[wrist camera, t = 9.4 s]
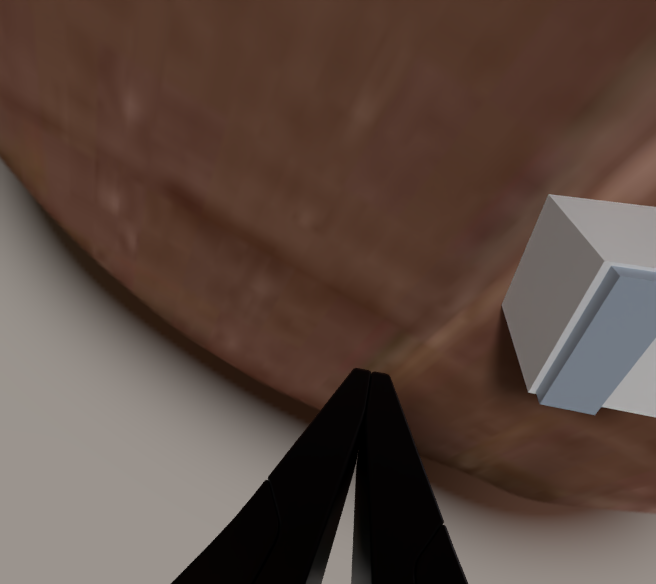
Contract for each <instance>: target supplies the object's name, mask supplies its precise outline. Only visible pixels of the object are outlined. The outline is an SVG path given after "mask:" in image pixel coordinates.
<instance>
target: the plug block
mask: <svg viewBox="0 0 656 584" xmlns="http://www.w3.org/2000/svg"><path fill="white" fill-rule="evenodd" d="M502 308H503V311H504V314H505V318H506V321H507V324H508V328H509V331H510V334H511V338H512V341H513V344H514V347H515V351H516V354H517V357H518V361H519V364H520V367H521V370H522V374H523V377H524V380H525V384H526V387H527V390H528V392H529V393H534V394H537V397H538V400H539V403H540V404H542V405H547V406H552V407H557V408H562V409H567V410H572V411H577V412H582V413H587V414H592V415H595V414H596V413H597V412H598V410H599V409H600V408H601V407H605V408H610V409H615V410H620V411H626V412H631V413H636V414H641V415H646V416H651V417H656V207H651V206H642V205H634V204H626V203H617V202H609V201H600V200H592V199H584V198H575V197H567V196H559V195H550V194H548V197H547V199H546V201H545V204H544V206H543V209H542V211H541V213H540V216H539V218H538V220H537V223H536V225H535V227H534V230H533V232H532V235H531V237H530V239H529V242H528V244H527V246H526V249H525V251H524V253H523V256H522V258H521V260H520V263H519V265H518V268H517V270H516V272H515V275H514V277H513V279H512V282H511V284H510V286H509V289H508V291H507V294H506V296H505V298H504V301H503V303H502Z"/></svg>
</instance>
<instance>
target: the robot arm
mask: <svg viewBox="0 0 656 584" xmlns="http://www.w3.org/2000/svg"><path fill="white" fill-rule="evenodd" d="M358 450H359V451H358ZM357 455H358V458H357ZM356 460H357V466H356V485H355V508H354V509H355V510H354V532H353V555H352V580H351V581H352V582H351V584H468V582H467V580H466V577H465V574H464V572H463V569H462V567H461V565H460V562H459V560H458V557H457V555H456V552H455V550H454V547H453V544H452V541H451V539H450V536H449V533H448V531H447V528H446V526H445V525H443V523H444V520H443V518H442V515H441V513H440V510H439V507H438V504H437V501H436V499H435V496H434V494H433V491H432V488H431V485H430V483H429V480H428V477H427V475H426V472H425V469H424V466H423V464H422V461H421V458H420V456H419V453H418V450H417V447H416V445H415V442H414V439H413V437H412V434H411V431H410V429H409V426H408V423H407V420H406V418H405V415H404V412H403V410H402V407H401V404H400V401H399V399H398V396H397V393H396V391H395V388H394V385H393V383H392V380H391V377H390V376H389V375H388V374H385V373H380V372H372V374H371V372H370V371H369V370H365V369H360V368H354V369H353V370H352V371H351V373H350V374H349V375H348V376H347V378H346V379H345V380H344V381H343V383H342V384H341V385H340V387H339V388H338V389H337V390H336V392H335V393H334V394H333V395H332V397H331V398H330V399H329V400H328V402H327V403H326V404H325V405H324V407H323V408H322V409H321V411H320V412H319V413H318V414H317V416H316V417H315V418H314V419H313V421H312V422H311V423H310V424H309V426H308V427H307V428H306V430H305V431H304V432H303V434H302V435H301V436H300V437H299V438H298V440H297V441H296V442H295V443H294V445H293V446H292V447H291V449H290V450H289V451H288V452H287V454H286V455H285V456H284V458H283V459H282V460H281V461H280V462H279V464H278V465H277V466H276V468H275V469H274V470H273V471H272V473H271V474H270V475H269V477H268V480H265V481H264V482H263V484H262V485H261V486H260V488H259V489H258V490H257V491H256V493H255V494H254V495H253V496H252V497H251V499H250V500H249V501H248V502H247V503H246V505H245V506H244V507H243V508H242V510H241V511H240V512H239V513H238V514H237V515H236V517H235V518H234V519H233V520H232V521H231V522H230V523H229V524H228V525H227V527H225V528H224V530H223V531H222V532H221V533H220V534H219V535H218V536H217V537H216V538H215V539H214V540H213V541H212V542H211V543H210V545H208V547H207V548H206V549H205V550H204V551H203V552H202V553H201V554H200V555H199V556H198V557H197V558H196V559H195V560H194V561H193V562H192V563H191V564H190V565H189V566H188V567H187V568H186V569H185V570H184V571H183V572H182V573H181V574H180V575H179V576H178V577H177V578H176V579H175V580H174V581H173V582H172V583H171V584H321V583H322V579H323V576H324V572H325V569H326V565H327V562H328V559H329V555H330V552H331V548H332V545H333V541H334V538H335V535H336V531H337V527H338V524H339V520H340V517H341V514H342V511H343V507H344V504H345V500H346V496H347V493H348V490H349V486H350V483H351V480H352V476H353V473H354V468H355V465H356Z"/></svg>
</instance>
